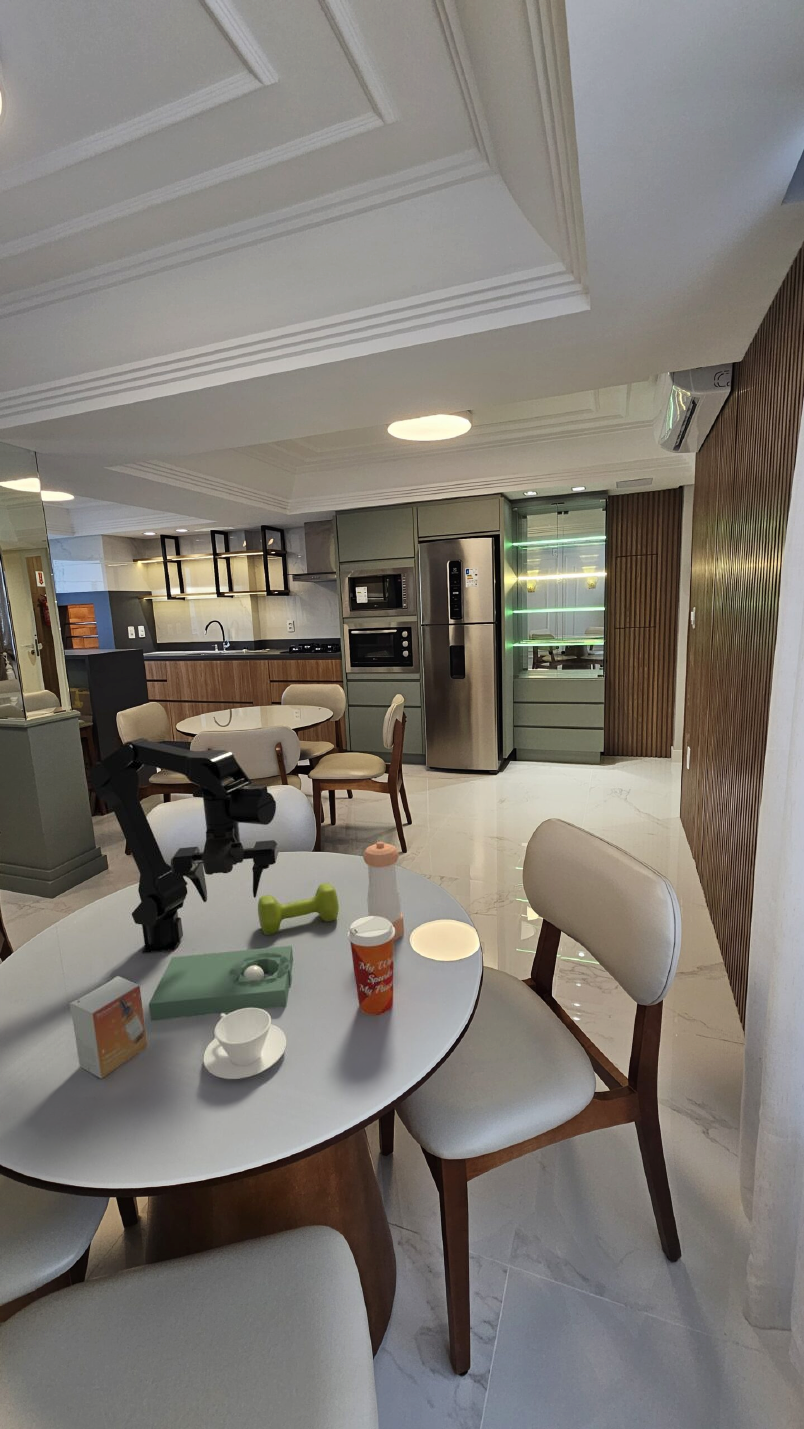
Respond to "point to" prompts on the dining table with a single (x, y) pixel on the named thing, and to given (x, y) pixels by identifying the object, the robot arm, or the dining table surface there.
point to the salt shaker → (384, 885)
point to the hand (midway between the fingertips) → (230, 899)
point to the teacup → (244, 1044)
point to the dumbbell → (297, 908)
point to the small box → (109, 1026)
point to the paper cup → (373, 963)
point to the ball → (253, 973)
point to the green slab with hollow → (222, 983)
